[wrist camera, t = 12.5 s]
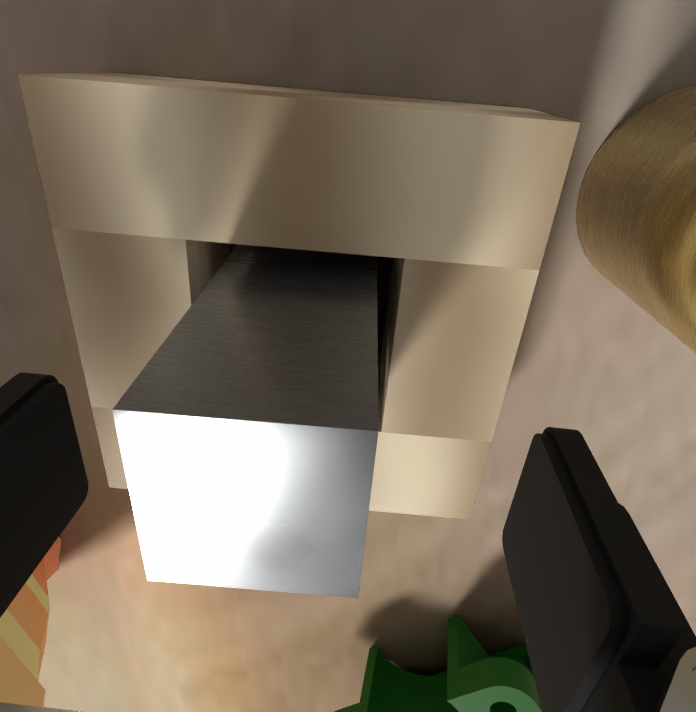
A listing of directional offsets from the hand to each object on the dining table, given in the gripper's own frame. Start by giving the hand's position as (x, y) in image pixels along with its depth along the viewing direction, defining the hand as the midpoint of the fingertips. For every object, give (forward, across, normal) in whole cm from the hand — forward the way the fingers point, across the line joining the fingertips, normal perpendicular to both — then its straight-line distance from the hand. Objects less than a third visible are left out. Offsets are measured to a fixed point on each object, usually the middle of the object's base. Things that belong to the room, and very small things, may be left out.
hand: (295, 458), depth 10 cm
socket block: (+8, +1, 0) cm, 8 cm away
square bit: (+8, +1, 0) cm, 8 cm away
